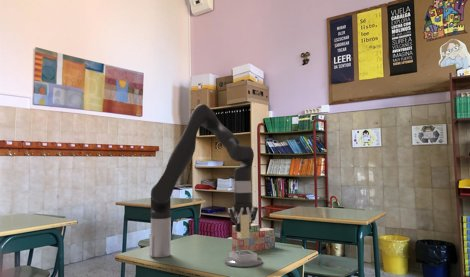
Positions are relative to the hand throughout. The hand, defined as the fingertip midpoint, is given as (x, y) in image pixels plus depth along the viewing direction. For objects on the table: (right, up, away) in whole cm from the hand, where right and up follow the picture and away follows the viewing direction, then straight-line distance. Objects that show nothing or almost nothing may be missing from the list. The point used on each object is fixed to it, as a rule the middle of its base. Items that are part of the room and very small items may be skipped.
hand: (243, 231), depth 159 cm
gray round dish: (0, -13, -1) cm, 13 cm away
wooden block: (0, -3, 0) cm, 3 cm away
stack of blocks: (+6, -15, +24) cm, 29 cm away
